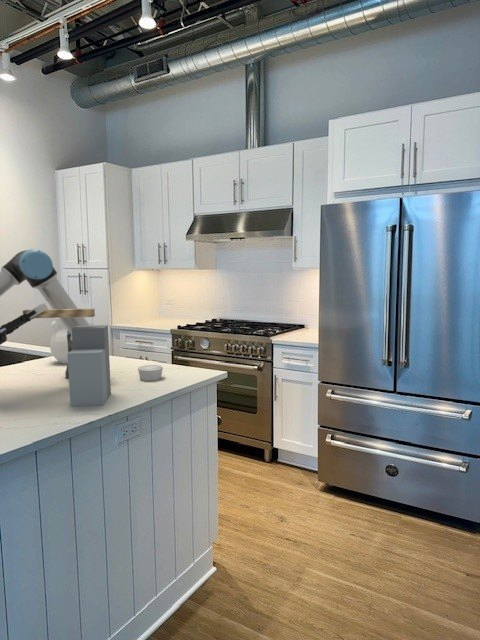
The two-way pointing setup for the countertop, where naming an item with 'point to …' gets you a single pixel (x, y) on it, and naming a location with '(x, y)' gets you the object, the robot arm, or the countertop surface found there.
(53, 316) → the oak bar
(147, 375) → the ramekin
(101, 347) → the stand
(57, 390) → the countertop surface
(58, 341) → the pitcher
